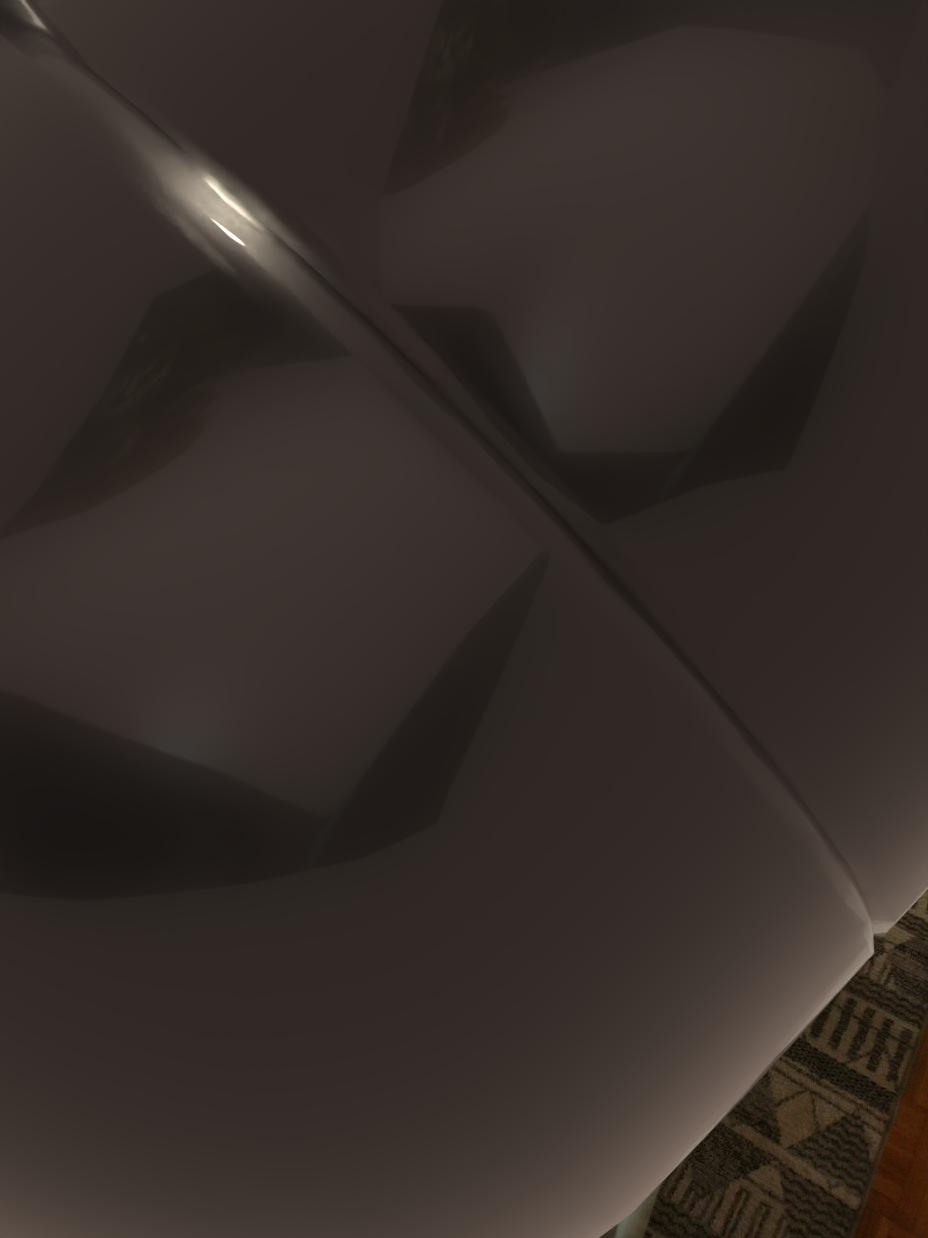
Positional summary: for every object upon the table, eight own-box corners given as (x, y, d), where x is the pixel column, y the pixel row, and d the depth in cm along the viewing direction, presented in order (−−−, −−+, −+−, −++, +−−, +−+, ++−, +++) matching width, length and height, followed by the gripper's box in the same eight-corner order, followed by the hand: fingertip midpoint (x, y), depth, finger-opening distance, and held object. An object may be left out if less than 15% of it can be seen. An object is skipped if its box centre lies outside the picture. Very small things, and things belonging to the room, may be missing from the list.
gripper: (770, 465, 22) (643, 561, 39) (209, 465, 22) (317, 561, 39) (779, 764, 22) (646, 735, 38) (201, 763, 22) (314, 734, 38)
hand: (480, 647), depth 38 cm, fingers open, 8 cm apart
